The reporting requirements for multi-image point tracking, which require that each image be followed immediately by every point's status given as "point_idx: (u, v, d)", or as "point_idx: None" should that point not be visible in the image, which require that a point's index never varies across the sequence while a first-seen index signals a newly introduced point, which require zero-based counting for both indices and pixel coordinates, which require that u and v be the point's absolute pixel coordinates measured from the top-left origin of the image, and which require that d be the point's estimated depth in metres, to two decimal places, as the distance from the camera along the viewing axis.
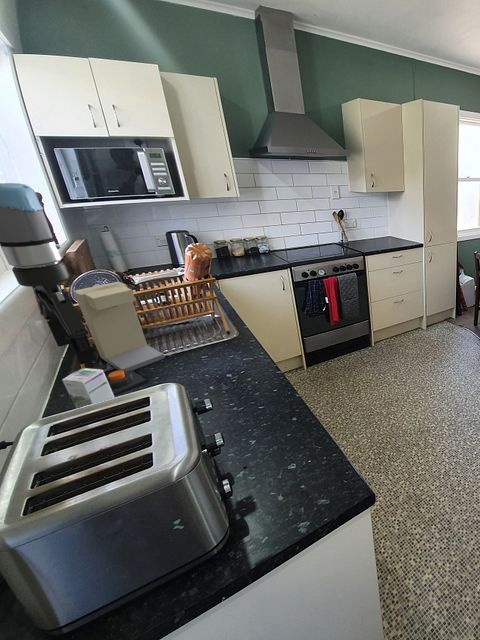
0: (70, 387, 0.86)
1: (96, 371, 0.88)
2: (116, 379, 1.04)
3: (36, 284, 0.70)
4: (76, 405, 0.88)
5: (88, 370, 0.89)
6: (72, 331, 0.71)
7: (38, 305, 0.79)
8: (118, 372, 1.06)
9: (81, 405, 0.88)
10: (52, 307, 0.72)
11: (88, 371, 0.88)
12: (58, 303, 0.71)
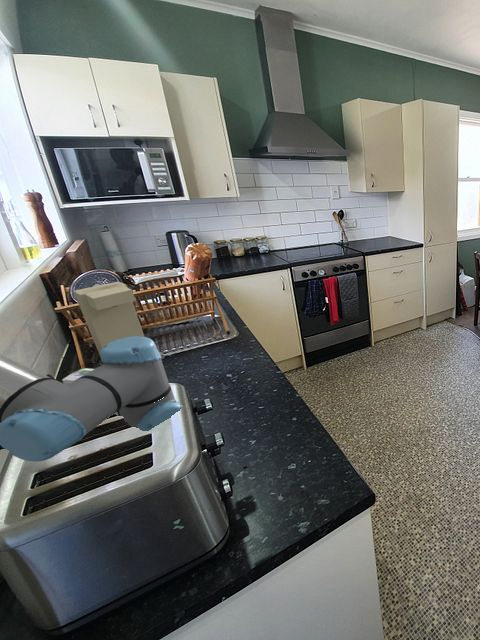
0: None
1: None
2: None
3: None
4: None
5: (88, 370, 0.89)
6: None
7: None
8: None
9: None
10: None
11: (88, 371, 0.88)
12: None
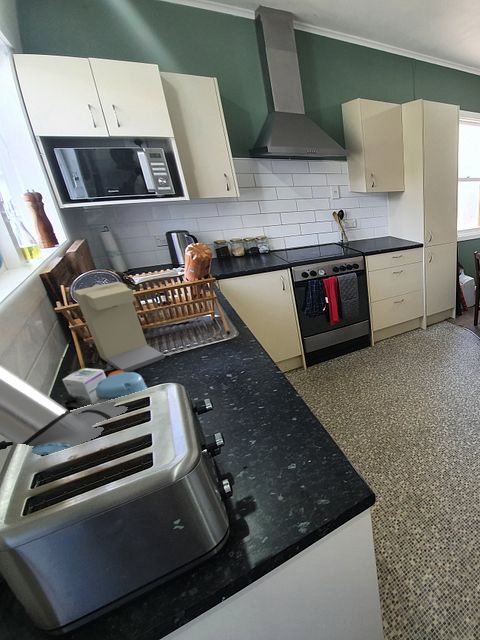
0: (70, 387, 0.86)
1: (97, 371, 0.89)
2: None
3: None
4: None
5: (88, 370, 0.89)
6: None
7: None
8: (118, 372, 1.06)
9: None
10: None
11: (88, 371, 0.88)
12: None
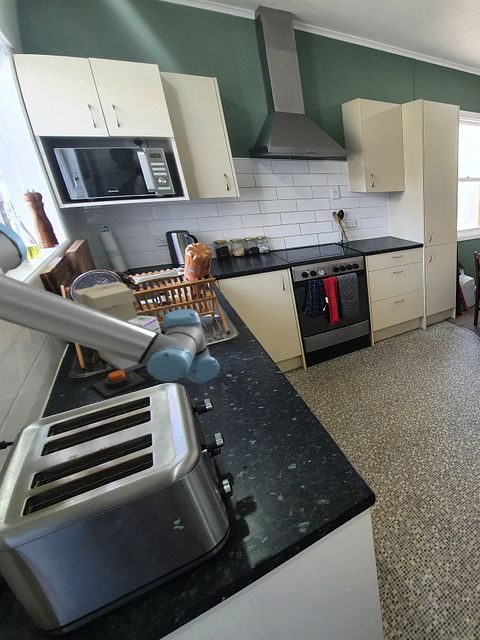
0: None
1: (151, 317, 1.05)
2: (116, 379, 1.04)
3: None
4: None
5: (144, 317, 1.05)
6: None
7: None
8: (118, 372, 1.06)
9: None
10: None
11: (144, 317, 1.05)
12: None
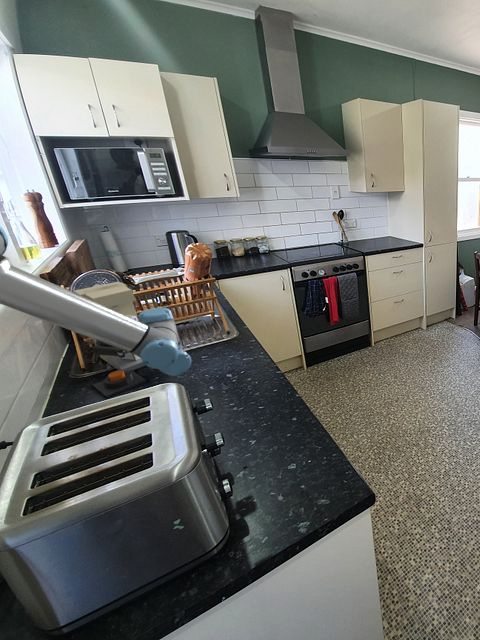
0: None
1: (132, 316, 1.14)
2: (116, 379, 1.04)
3: None
4: None
5: None
6: (96, 348, 1.05)
7: None
8: (118, 372, 1.06)
9: None
10: None
11: None
12: (115, 351, 1.04)
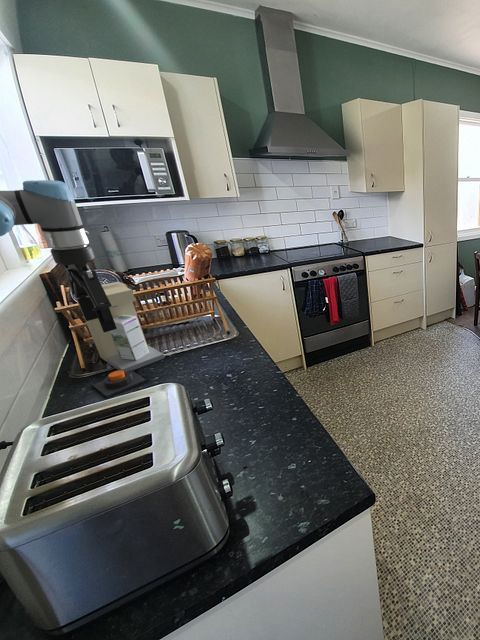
0: None
1: (131, 316, 1.14)
2: (116, 379, 1.04)
3: (70, 262, 0.85)
4: (116, 343, 1.14)
5: (125, 316, 1.14)
6: (99, 303, 0.87)
7: None
8: (118, 372, 1.06)
9: (120, 343, 1.13)
10: (82, 283, 0.88)
11: (125, 316, 1.14)
12: (88, 280, 0.86)
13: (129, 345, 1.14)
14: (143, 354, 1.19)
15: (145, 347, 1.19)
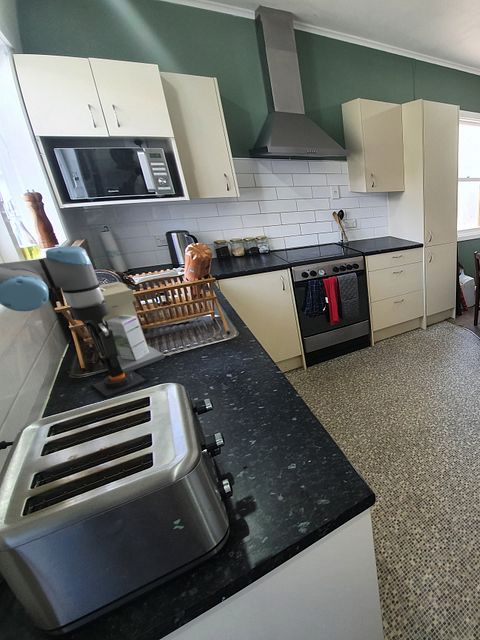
0: (112, 327, 1.11)
1: (131, 316, 1.14)
2: None
3: (88, 319, 0.94)
4: (116, 343, 1.14)
5: (125, 316, 1.14)
6: (109, 355, 0.99)
7: None
8: None
9: (120, 343, 1.13)
10: (97, 337, 0.98)
11: (125, 316, 1.14)
12: (104, 338, 0.96)
13: (129, 345, 1.14)
14: (143, 354, 1.19)
15: (145, 347, 1.19)
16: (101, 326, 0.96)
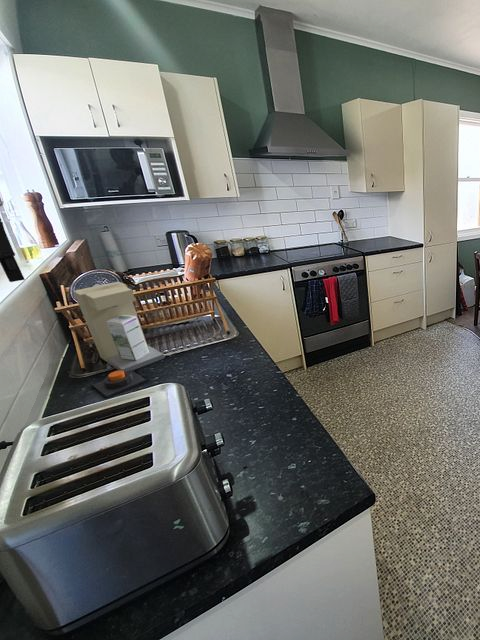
0: (112, 327, 1.11)
1: (131, 316, 1.14)
2: (116, 379, 1.04)
3: None
4: (116, 343, 1.14)
5: (125, 316, 1.14)
6: (1, 253, 0.90)
7: None
8: (118, 372, 1.06)
9: (120, 343, 1.13)
10: None
11: (125, 316, 1.14)
12: None
13: (129, 345, 1.14)
14: (143, 354, 1.19)
15: (145, 347, 1.19)
16: None
